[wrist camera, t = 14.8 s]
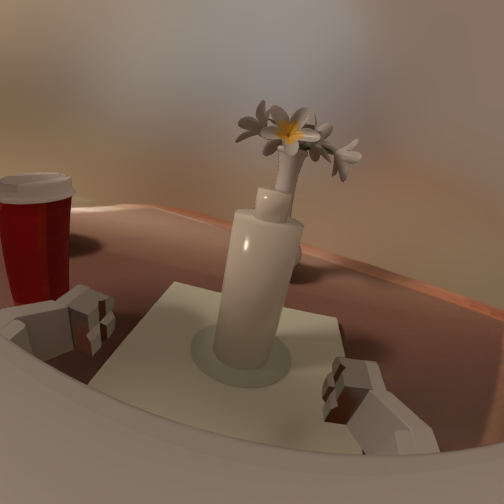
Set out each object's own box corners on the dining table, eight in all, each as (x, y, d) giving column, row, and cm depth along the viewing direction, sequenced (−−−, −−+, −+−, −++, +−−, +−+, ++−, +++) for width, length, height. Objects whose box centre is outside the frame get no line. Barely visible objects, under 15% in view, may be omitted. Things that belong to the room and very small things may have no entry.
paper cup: (61, 296, 28) (58, 169, 23) (94, 330, 25) (91, 180, 20) (3, 315, 22) (-13, 176, 17) (25, 358, 18) (-2, 190, 14)
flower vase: (338, 288, 45) (379, 129, 37) (225, 290, 38) (263, 89, 30) (299, 256, 57) (328, 125, 48) (203, 252, 49) (229, 99, 41)
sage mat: (84, 400, 17) (81, 390, 17) (173, 288, 36) (174, 280, 35) (357, 466, 16) (364, 459, 15) (334, 324, 34) (336, 316, 34)
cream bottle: (206, 361, 23) (233, 187, 18) (220, 329, 28) (245, 181, 23) (266, 375, 23) (312, 204, 18) (271, 341, 27) (308, 194, 23)
